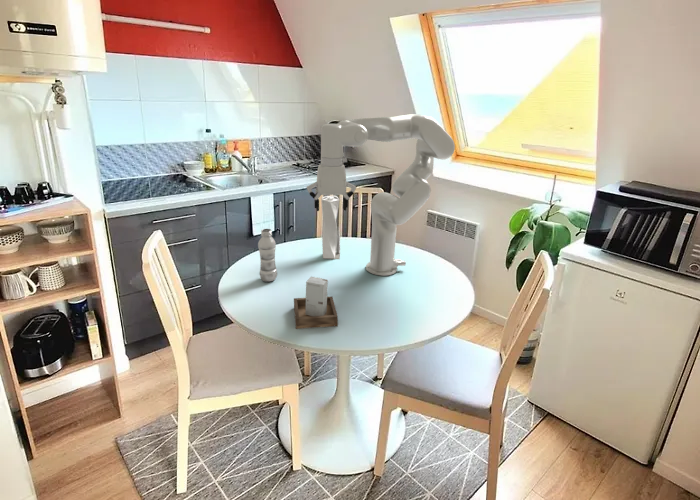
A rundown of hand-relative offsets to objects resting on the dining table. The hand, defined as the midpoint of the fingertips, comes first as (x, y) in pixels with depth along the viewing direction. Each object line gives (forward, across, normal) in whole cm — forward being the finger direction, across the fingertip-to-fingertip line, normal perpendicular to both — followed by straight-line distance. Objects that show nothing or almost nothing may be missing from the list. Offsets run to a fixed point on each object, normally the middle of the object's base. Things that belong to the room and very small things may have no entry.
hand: (331, 209), depth 156 cm
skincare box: (+28, +8, +25) cm, 38 cm away
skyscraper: (+29, -3, -23) cm, 37 cm away
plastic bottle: (+28, +23, -3) cm, 37 cm away
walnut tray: (+28, +8, +25) cm, 39 cm away
